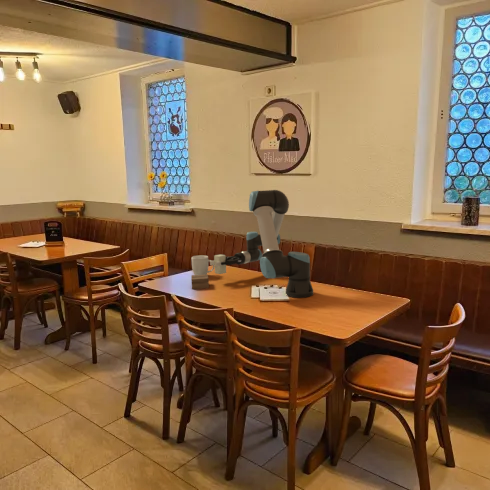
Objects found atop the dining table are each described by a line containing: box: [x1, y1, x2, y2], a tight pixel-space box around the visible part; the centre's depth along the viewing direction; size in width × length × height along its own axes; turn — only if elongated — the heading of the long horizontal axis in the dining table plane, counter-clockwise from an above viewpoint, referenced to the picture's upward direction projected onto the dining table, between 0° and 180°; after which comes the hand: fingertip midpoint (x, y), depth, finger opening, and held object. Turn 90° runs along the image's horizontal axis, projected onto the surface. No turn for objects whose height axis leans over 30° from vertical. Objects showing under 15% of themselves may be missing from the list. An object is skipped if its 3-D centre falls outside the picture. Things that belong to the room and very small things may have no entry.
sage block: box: [213, 254, 227, 275], centre depth 267 cm, size 5×5×11 cm
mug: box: [191, 254, 215, 275], centre depth 287 cm, size 15×11×13 cm
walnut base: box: [191, 273, 210, 290], centre depth 262 cm, size 10×10×6 cm
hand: (213, 263), depth 263 cm, fingers closed on sage block, 5 cm apart
